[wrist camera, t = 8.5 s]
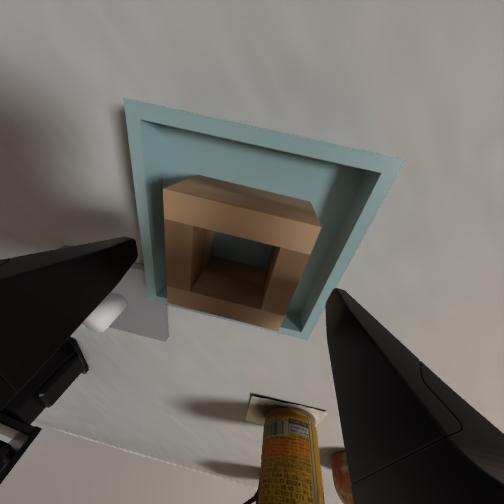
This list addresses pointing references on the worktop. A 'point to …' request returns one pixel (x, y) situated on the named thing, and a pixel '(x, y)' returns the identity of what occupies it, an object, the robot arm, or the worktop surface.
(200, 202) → the ring
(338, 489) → the bread roll
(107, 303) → the gray plate with knob
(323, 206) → the tray
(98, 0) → the worktop surface
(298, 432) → the condiment
